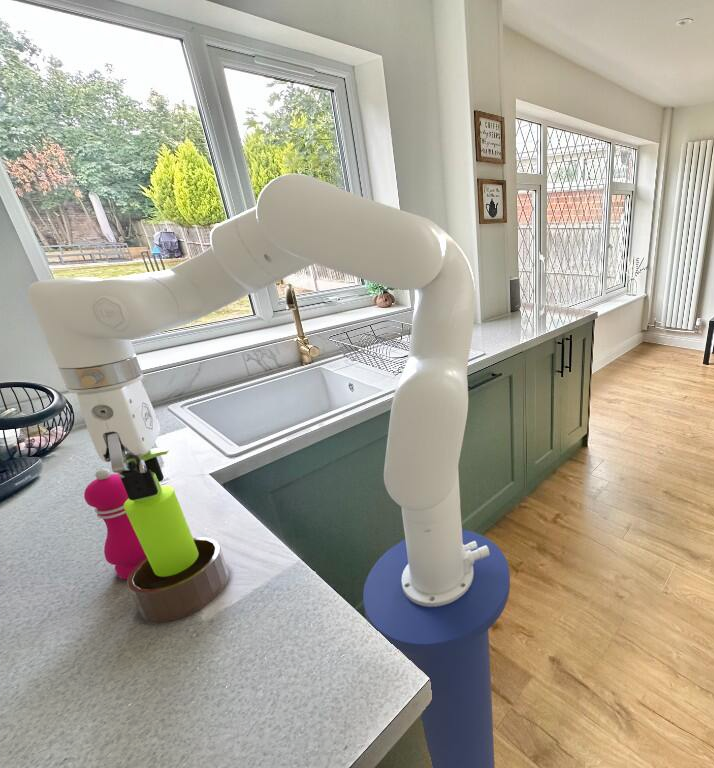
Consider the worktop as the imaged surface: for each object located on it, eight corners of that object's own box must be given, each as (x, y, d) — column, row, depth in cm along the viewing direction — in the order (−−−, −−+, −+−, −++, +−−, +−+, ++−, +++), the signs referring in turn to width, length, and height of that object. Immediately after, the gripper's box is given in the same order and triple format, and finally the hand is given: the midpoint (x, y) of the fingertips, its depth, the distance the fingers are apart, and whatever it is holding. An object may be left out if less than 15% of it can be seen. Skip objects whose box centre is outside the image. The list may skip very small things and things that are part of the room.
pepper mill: (114, 564, 74) (71, 468, 67) (165, 545, 79) (130, 453, 72) (113, 589, 69) (67, 487, 62) (168, 566, 74) (130, 470, 67)
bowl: (230, 555, 76) (222, 528, 74) (225, 602, 66) (216, 573, 64) (149, 580, 71) (138, 553, 69) (131, 635, 61) (117, 605, 59)
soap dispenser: (212, 552, 69) (174, 451, 61) (163, 582, 64) (114, 475, 56) (195, 539, 72) (156, 440, 64) (147, 566, 66) (97, 462, 58)
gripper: (122, 386, 50) (168, 511, 57) (152, 354, 64) (187, 458, 70) (36, 399, 47) (96, 530, 53) (87, 362, 60) (130, 470, 67)
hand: (147, 488), depth 61 cm, fingers closed on soap dispenser, 3 cm apart
